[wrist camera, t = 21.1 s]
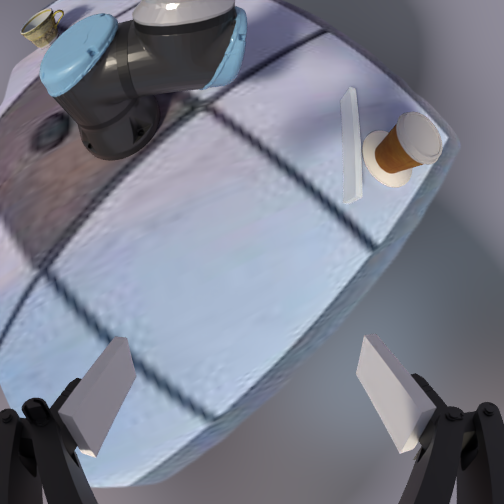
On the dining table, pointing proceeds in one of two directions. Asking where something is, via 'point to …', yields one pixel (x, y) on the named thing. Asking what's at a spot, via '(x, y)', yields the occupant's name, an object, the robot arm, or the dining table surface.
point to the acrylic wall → (351, 148)
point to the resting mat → (372, 165)
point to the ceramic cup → (42, 28)
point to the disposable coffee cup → (409, 144)
